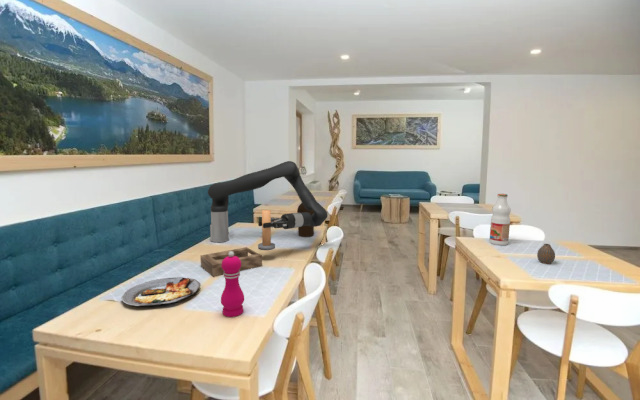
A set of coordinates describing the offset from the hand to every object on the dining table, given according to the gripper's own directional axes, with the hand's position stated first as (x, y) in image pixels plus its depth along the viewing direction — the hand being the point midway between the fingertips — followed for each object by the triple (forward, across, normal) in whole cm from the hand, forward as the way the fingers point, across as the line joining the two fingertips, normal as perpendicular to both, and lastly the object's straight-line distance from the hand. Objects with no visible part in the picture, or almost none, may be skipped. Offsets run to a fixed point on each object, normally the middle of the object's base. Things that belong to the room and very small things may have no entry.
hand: (261, 224), depth 157 cm
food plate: (+46, +14, +18) cm, 52 cm away
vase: (-104, +82, +16) cm, 134 cm away
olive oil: (-44, -27, +17) cm, 55 cm away
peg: (-3, 0, +12) cm, 12 cm away
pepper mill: (+32, +42, +17) cm, 56 cm away
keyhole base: (+15, 0, +17) cm, 23 cm away
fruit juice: (-121, +53, +16) cm, 133 cm away
